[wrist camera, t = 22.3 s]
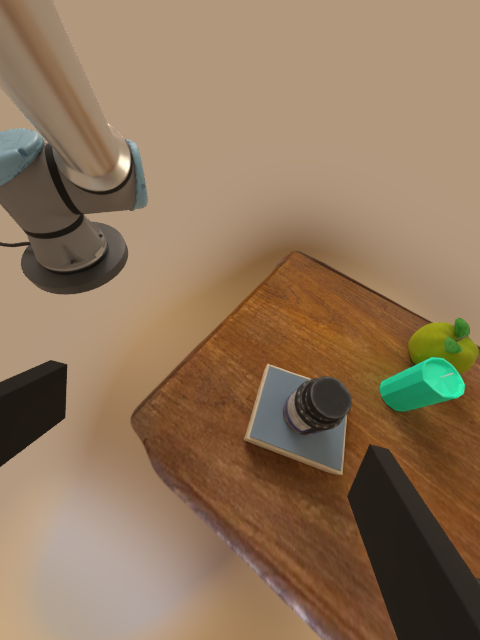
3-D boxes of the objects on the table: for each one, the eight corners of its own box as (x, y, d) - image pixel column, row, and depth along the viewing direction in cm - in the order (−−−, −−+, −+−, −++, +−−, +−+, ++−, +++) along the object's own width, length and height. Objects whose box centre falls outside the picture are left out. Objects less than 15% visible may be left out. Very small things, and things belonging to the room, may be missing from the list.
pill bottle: (321, 397, 37) (356, 375, 27) (322, 439, 33) (361, 431, 24) (283, 389, 37) (304, 365, 27) (280, 431, 34) (303, 420, 24)
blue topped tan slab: (243, 440, 36) (246, 438, 33) (264, 370, 42) (267, 362, 39) (331, 473, 35) (343, 475, 31) (339, 396, 41) (350, 391, 37)
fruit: (388, 356, 46) (426, 332, 37) (410, 330, 49) (450, 303, 41) (431, 392, 43) (484, 375, 34) (452, 362, 46) (504, 340, 38)
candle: (380, 373, 44) (429, 347, 34) (412, 385, 43) (472, 362, 33) (378, 403, 41) (431, 385, 31) (413, 417, 40) (479, 402, 30)
